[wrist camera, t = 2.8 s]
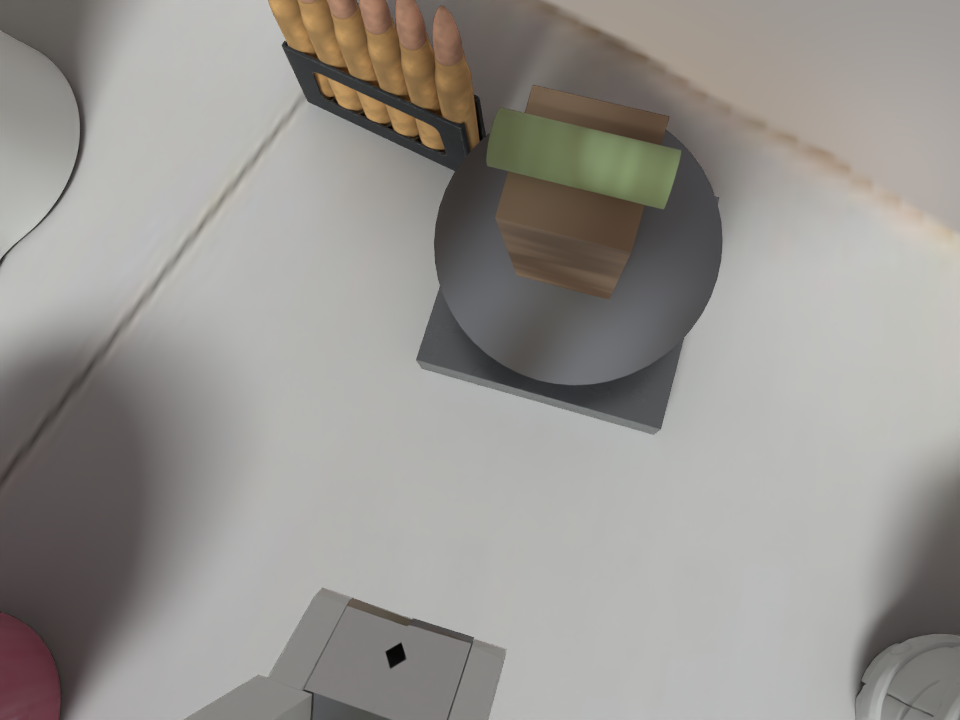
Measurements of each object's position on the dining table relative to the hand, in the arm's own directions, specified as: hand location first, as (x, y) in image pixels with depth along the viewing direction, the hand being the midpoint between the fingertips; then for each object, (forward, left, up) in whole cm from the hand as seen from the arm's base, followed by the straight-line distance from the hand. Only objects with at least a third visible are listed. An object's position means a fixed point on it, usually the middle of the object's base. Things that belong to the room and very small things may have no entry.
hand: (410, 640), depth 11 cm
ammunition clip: (-1, +24, -25) cm, 34 cm away
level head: (+6, +13, -19) cm, 23 cm away
